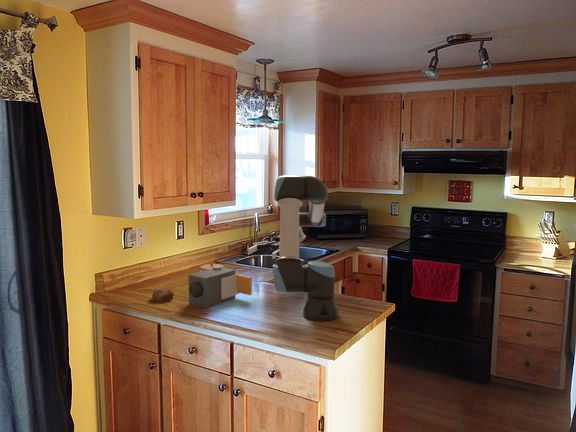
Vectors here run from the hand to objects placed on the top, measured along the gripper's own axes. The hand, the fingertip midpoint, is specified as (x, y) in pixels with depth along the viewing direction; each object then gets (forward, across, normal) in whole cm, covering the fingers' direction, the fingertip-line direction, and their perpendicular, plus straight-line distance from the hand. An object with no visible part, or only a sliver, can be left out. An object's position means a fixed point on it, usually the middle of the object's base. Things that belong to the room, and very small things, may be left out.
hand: (260, 253), depth 239 cm
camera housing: (+21, +14, -20) cm, 32 cm away
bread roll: (+31, +36, -20) cm, 52 cm away
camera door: (+16, +3, -18) cm, 24 cm away
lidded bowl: (-5, +35, -24) cm, 43 cm away
